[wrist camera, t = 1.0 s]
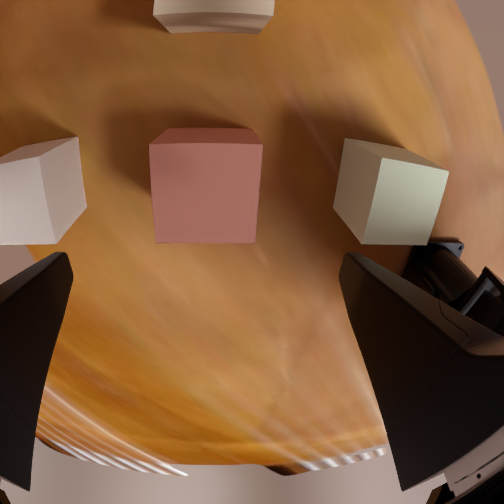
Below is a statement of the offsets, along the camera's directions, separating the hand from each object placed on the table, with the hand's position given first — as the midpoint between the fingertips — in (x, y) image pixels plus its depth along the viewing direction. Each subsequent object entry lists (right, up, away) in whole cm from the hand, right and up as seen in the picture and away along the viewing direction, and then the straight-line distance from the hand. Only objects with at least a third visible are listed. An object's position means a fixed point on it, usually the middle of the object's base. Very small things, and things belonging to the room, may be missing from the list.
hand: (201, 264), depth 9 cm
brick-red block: (-1, +6, +9) cm, 10 cm away
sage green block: (+10, +6, +10) cm, 15 cm away
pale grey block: (-12, +6, +7) cm, 15 cm away
